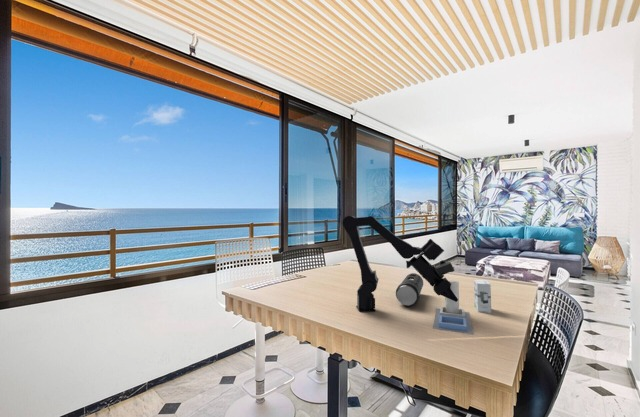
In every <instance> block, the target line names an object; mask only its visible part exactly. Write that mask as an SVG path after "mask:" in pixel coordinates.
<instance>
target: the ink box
mask: <svg viewBox="0 0 640 417" xmlns="http://www.w3.org/2000/svg"><path fill="white" fill-rule="evenodd" d="M473 281H474V283H473V285H474V287H473V288H474V291H473V292H474V294H473V295H474V296H473V297H474V308H475V310H476V312H477V313H486V314H492V288H491V287H492V285H491V283H490V282H489V280H487V279H474V280H473Z"/></svg>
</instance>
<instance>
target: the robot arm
mask: <svg viewBox="0 0 640 417" xmlns="http://www.w3.org/2000/svg"><path fill="white" fill-rule="evenodd" d="M341 224H342V227H343V228H344V230H345V232H346V234H347V235H348V237H349V238H350V241H351V244H352V248H353V250H354V254H355V256H356V259H357V263H358V266H359V269H360V278H361V285H360V286H359V287H358V289H357V291H356V296H357V298H356V303H357V305H356V309H357V310H358V312H375V311H376V298H375V295H374V293H373V292H375V291H376V290H377V287H378V283H379V277H378V276H377V270H376V269H375V270H372V267H370V264H369V261H368V258H367V257H368V256H367V254H366V251H365V249H364V245H363V242H362V238H361V235H360V227H364V226H366V227H367V226H368V227H370V228H371V229H373V230H374V231H375V232H376V233H378V234H379V235H380V236H381V237H382V238H384V240H386V241H387V242H388V243H389V244H390V245H391V246H392V247H393V248H394V249H395V251H396V252H397V253H398V254H399V256H400V257H401V258H403V259H404V260H405V259H408V260H405V264H406V269H409V268H411V267H412V268H413V269H415V271H416V272H417V273H419V274H418V275H419V276H421V278H422V279H425V281H426V282H428V284H429V285H430V286H431V287H432V289H433V291H434V293H435V294H436V295H437V296H442V297H444V298H445V297H446V298H449V299H451V300H453V301H455V302H457V301H458V299H457V297H456V296H455V294H454V293H453V292H452V290H451V289H450V286H451V283H450V282H449V281H450V280H448V279H447V278H446V277H445V275H447V274H449V273H453V272H455V268H454V266H453V264H452V262H451V261H444V260H443V259H442V260H440V261H439V264H438V265H437V266H435V265H433V264H431V263H430V262H429V261H435V260H436V259H437V258H439V257H440V255H442V254H443V253H444V252H445V250H444V249H443V248H442V247H441V246H440V245H439V244H438V243H436V242H435V241H434V240H433V239H432V238H430V239H428V240H427V242H426V243H424V245H423V246H422V247H419V246H418V247H417V246H413V245H412V244H411V243H409V242H408V241H406V240H404V239H402V238H400V237H398V236H397V235H395V234H394V233H393V232H392V231H390V230H389V229H388V228H387V227H386V226H385V225H383V224H382V223H381V222H379V220H377V218H376V217H374V216H372V215H368V216H364V217H363V216H362V217H361V216H360V217H356V216H354V215H347V216H345V217H344V218H343V219H342V223H341Z"/></svg>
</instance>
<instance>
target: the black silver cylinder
mask: <svg viewBox="0 0 640 417" xmlns="http://www.w3.org/2000/svg"><path fill="white" fill-rule="evenodd" d="M423 279H424V278H423V277H422V276H421V275H420V274H417V273H414V272H413V273H409V274H407V275H406V276H405V278H404V279H403V280H402V282H401V283H399V284H398V286H397V288H396V290H395V296H396V299H397V301H398V302H399V303H400V304H402V305H404V306H406V307H407V306H409V307H412V306H414V305H416V304H417V303H418V301H419V300H420V297H421V292H422V289H423V287H424V280H423Z"/></svg>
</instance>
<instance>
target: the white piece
mask: <svg viewBox="0 0 640 417" xmlns="http://www.w3.org/2000/svg"><path fill="white" fill-rule="evenodd" d="M448 281H449V282H450V283H451V286H450V289H451V290H452V292H453V293H454V294H455V296H456V297H457V299H458V301H457V302H455V301H453V300H451V299H449V298H446V297H444V298H445V302H444V303H445V306H444V307H445V313H452V314H459V309H460V286H459V285H460V283H459V281H456V280H448Z"/></svg>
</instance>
